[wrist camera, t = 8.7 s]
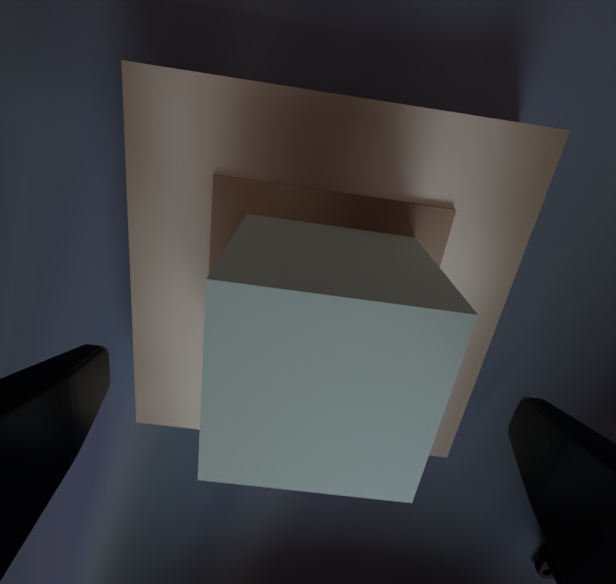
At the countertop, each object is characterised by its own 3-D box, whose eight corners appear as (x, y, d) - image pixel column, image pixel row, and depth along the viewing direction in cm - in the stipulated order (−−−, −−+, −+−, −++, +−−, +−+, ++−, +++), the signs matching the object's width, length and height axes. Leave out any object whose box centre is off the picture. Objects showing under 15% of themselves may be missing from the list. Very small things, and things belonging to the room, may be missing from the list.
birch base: (518, 126, 14) (574, 130, 11) (427, 406, 19) (448, 461, 16) (160, 70, 13) (118, 59, 10) (162, 375, 18) (134, 426, 15)
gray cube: (415, 237, 12) (478, 314, 7) (379, 375, 14) (412, 503, 10) (247, 213, 12) (205, 279, 7) (235, 357, 14) (197, 480, 9)
